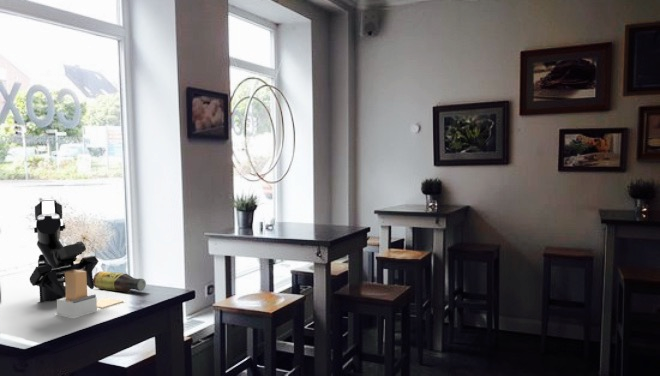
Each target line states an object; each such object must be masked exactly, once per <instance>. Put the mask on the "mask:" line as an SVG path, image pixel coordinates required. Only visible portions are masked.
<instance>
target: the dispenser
mask: <svg viewBox="0 0 660 376" xmlns="http://www.w3.org/2000/svg"><path fill="white" fill-rule="evenodd" d="M96 296H97V295H96V294H92V295H87V297H84V298H80V299H76V300H73V301H70V300H66V297H65V298H62V299H58V300H56V309H57V310H56V312H55V313H53V315H55V316H60V317H64V318H68V319H76V318H79V317H84V316H86V315H89V314H93V313H95V312H99V311H102V310H105V309H108V308H113V307H115V306H117V305H118V306H119V305H121V304H124V303H126V301H124V300H120V299H115V298H108V297H105V298H101V299H98V300H97V297H96Z"/></svg>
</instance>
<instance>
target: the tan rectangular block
mask: <svg viewBox="0 0 660 376" xmlns="http://www.w3.org/2000/svg"><path fill="white" fill-rule="evenodd" d="M64 286H65V289H66V300H70V301H73V300H76V299H80V298H84V297H87V296H88V286H87V276H86V271H81V270H72V271H67V272H65V283H64Z"/></svg>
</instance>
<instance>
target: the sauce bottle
mask: <svg viewBox="0 0 660 376" xmlns="http://www.w3.org/2000/svg"><path fill="white" fill-rule="evenodd" d="M93 283H94V288H96V289H99V290H107V291H114V292H124V293H125V292H129V291H131V290H134V291H135V290H136V291H138V292H139V291H143V290H144V289H145V288H146V287H147V286H146V285H147V283H146V280H145V279H143V278H135V277H133V276H131V275H130V274H128V273H124V272H113V271H98V272H96V273H95V274H94V275H93Z"/></svg>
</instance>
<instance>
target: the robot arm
mask: <svg viewBox="0 0 660 376" xmlns="http://www.w3.org/2000/svg"><path fill="white" fill-rule="evenodd" d="M34 219H35V221H33V222H34V223H33V229H34V234H37V238H38V239H37V242H36V245H37V247H38V249H39V250H40V252H41V253H42V254H39V256H38V260H37V266H35V269H34V270H33V272H32V273H31V275H30V277H29V282H30V284H31V285H32V286H33V287H35V286H37V287H39V288H38V289H39V301H38V302H37V304H40V303H44V302H55V301H57V300H58V299H62V298H65V297H66V289H65V272H67V271H72V270H81V271H86V276H87V288H90V290H93V289H94V288H95V287H94V283H93V278H94V276H93V271H94V269H95V268H96V266H97V265H98V263H99V260H98V258H97V256H95V255H89V256H85V257H84V256H83V257H82V258H81V260H80V261H79V262H78V263H74V262H76V261H77V260H78V259H77V257H78V256H79V255H82V254H83V252H86V249H87V248H86V245H85V243H84V242H83V241H82V240H81V241H76V242H75V243H72V244H67V245H63V244H62V242H61V241H60V239H61V232H64V230H65V229H66V223H65V222H64V220H63V206H62V204H61V203H59V202H57V199H54V198H47V199H46V198H44V199H43V198H42V199H40V200H39V203H38V204H36V205H35V206H34Z"/></svg>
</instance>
